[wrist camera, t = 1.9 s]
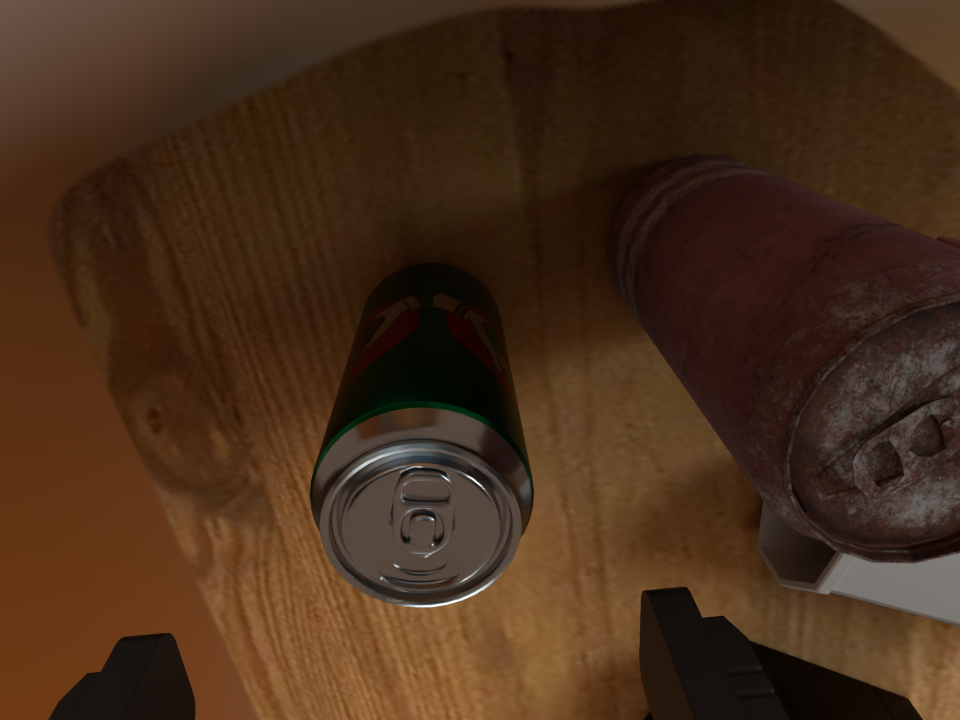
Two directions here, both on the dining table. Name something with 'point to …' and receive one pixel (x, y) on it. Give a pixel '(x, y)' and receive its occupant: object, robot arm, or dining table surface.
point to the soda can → (424, 445)
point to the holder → (827, 692)
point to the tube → (859, 573)
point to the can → (807, 348)
